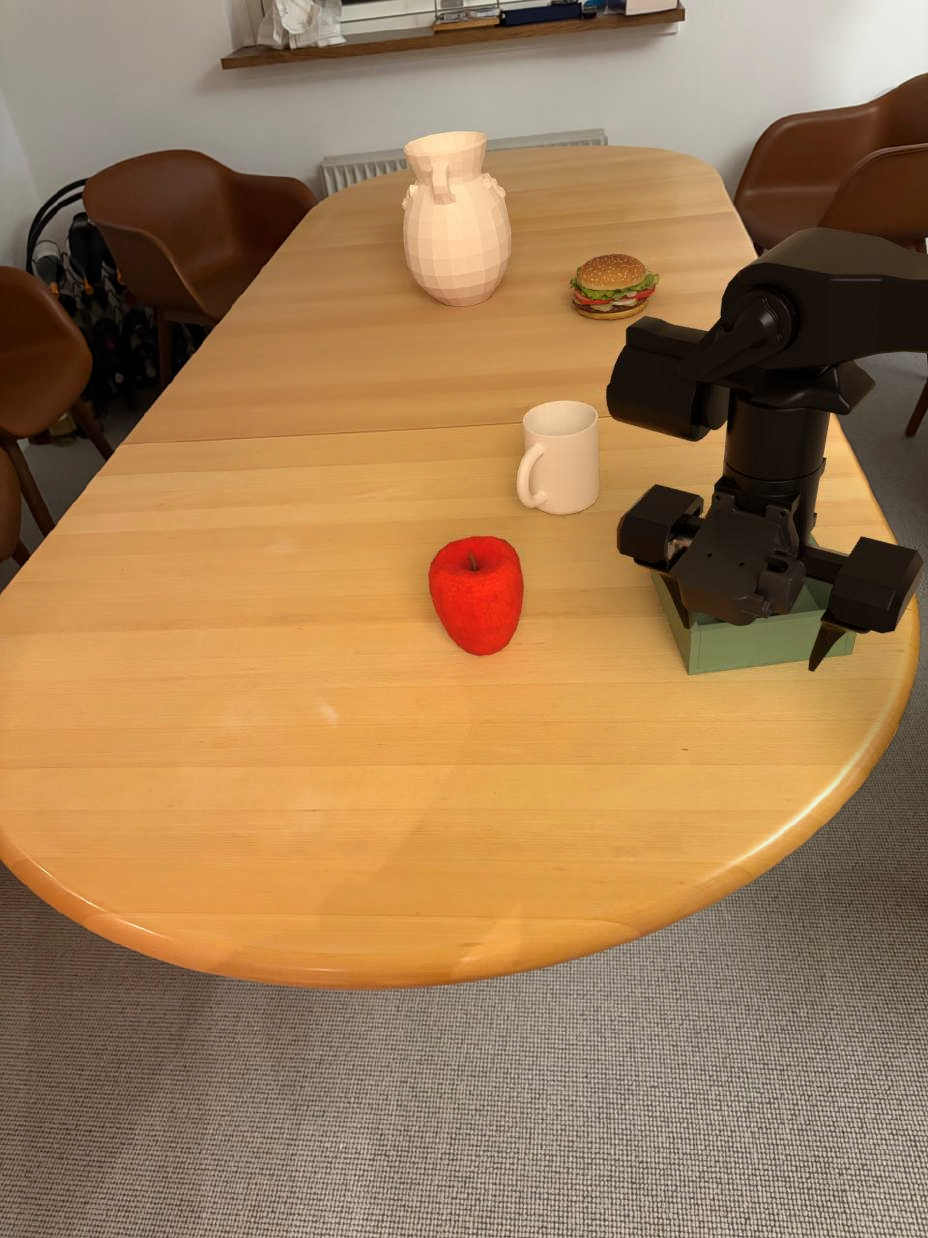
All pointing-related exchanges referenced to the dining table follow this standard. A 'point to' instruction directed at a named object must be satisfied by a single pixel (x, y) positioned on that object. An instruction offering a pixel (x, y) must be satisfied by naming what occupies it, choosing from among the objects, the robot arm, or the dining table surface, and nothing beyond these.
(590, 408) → the mug
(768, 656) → the tub
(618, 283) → the food
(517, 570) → the apple
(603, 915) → the dining table surface
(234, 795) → the dining table surface
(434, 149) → the pitcher
